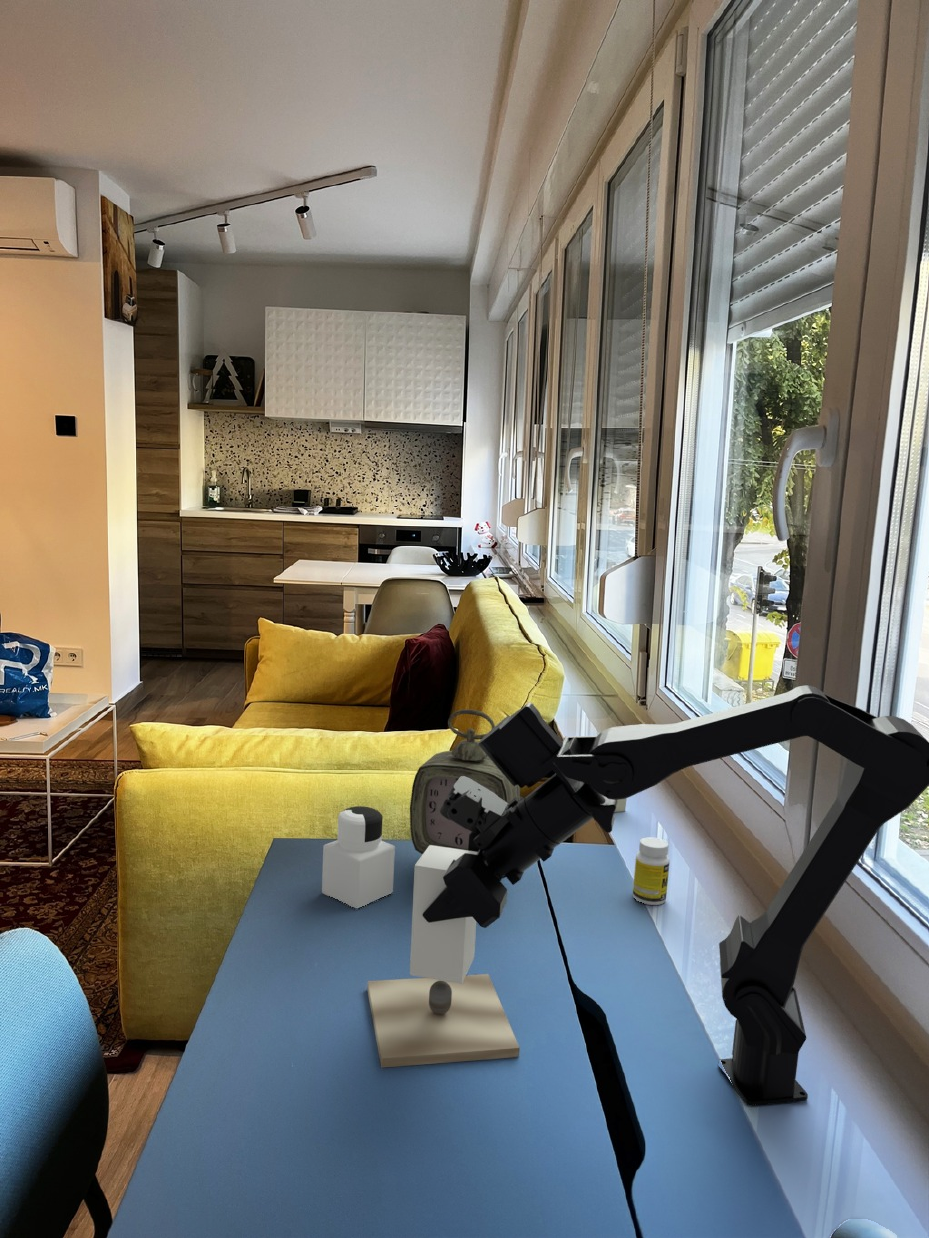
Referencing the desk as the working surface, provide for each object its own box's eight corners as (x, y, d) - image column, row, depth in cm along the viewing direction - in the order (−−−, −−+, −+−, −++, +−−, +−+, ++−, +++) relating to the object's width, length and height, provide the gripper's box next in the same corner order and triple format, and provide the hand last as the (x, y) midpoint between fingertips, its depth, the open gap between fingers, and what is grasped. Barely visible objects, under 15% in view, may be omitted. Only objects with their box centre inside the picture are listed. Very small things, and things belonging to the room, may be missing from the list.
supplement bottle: (666, 908, 128) (671, 850, 127) (631, 903, 129) (636, 846, 128) (665, 893, 133) (670, 838, 131) (632, 888, 134) (637, 833, 132)
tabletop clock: (406, 877, 133) (414, 710, 129) (427, 854, 142) (435, 696, 138) (502, 896, 129) (514, 723, 125) (518, 871, 137) (529, 708, 134)
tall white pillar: (474, 957, 100) (480, 852, 98) (461, 984, 94) (468, 873, 92) (424, 948, 101) (429, 844, 99) (409, 974, 95) (414, 865, 94)
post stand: (519, 1056, 93) (521, 1015, 92) (381, 1067, 90) (383, 1025, 89) (487, 981, 107) (490, 945, 106) (367, 989, 104) (368, 952, 103)
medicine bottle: (357, 878, 132) (361, 798, 130) (393, 894, 128) (397, 811, 126) (320, 893, 127) (323, 810, 125) (356, 911, 122) (360, 824, 120)
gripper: (508, 734, 102) (409, 816, 106) (470, 787, 84) (352, 882, 88) (574, 811, 101) (472, 891, 106) (550, 881, 83) (428, 973, 88)
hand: (433, 905), depth 97 cm, fingers closed on tall white pillar, 6 cm apart
